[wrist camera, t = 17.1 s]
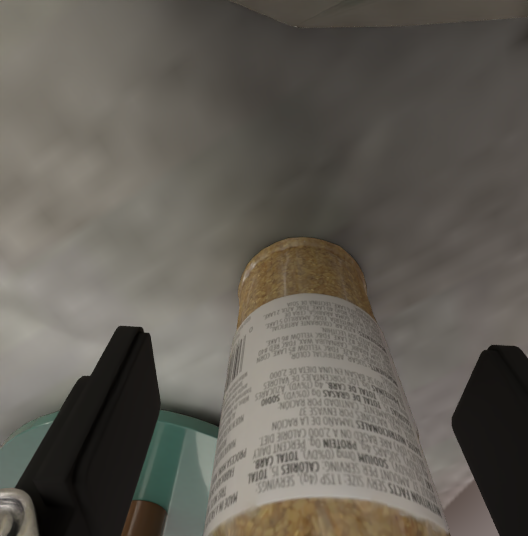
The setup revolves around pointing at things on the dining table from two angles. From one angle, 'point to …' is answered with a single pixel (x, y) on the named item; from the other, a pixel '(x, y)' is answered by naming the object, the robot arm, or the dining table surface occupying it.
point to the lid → (145, 473)
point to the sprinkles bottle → (315, 410)
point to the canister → (383, 11)
